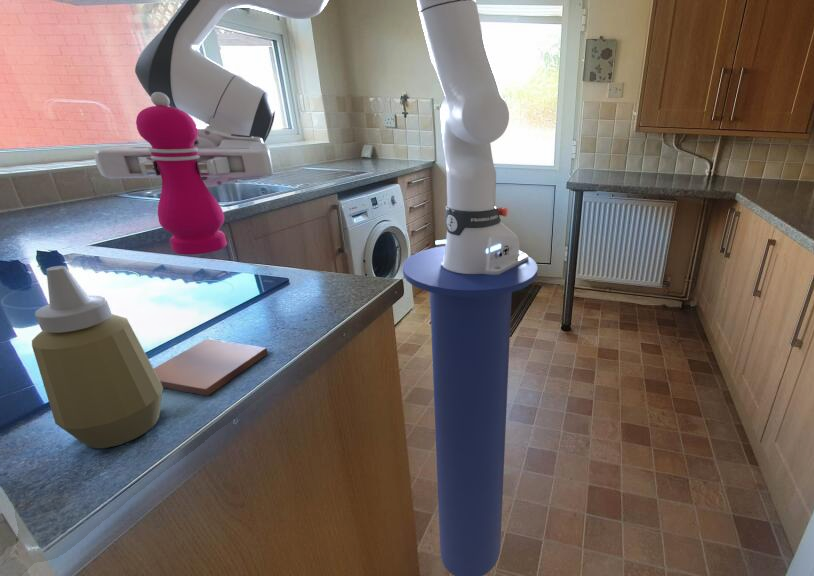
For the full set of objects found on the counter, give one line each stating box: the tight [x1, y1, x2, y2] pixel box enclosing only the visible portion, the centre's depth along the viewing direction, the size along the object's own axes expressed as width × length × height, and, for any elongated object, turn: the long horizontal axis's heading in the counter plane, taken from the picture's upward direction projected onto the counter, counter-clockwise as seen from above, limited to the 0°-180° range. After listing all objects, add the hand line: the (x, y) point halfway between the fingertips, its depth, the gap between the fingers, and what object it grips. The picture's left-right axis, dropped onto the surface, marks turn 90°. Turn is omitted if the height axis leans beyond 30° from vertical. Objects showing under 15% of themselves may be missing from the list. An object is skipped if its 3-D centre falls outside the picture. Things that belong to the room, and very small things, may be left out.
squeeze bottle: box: [31, 265, 164, 449], centre depth 39 cm, size 8×8×18 cm
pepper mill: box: [135, 92, 228, 256], centre depth 54 cm, size 7×7×20 cm
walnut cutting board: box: [153, 338, 269, 397], centre depth 53 cm, size 10×10×1 cm
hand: (177, 168), depth 53 cm, fingers closed on pepper mill, 5 cm apart
